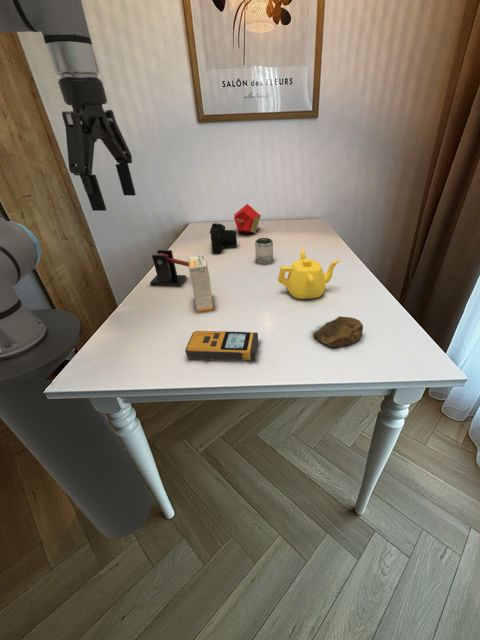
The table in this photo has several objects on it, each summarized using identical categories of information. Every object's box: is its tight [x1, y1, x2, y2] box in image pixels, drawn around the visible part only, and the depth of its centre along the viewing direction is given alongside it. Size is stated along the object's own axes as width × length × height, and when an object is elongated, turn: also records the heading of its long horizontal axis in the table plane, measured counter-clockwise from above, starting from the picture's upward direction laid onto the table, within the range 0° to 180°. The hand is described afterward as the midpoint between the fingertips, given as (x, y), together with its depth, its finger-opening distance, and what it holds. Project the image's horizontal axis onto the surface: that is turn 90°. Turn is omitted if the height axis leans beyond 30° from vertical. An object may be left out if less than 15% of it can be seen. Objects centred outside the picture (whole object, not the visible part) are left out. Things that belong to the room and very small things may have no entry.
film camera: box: [209, 222, 238, 255], centre depth 122 cm, size 15×10×9 cm, turn 1°
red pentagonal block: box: [233, 203, 262, 234], centre depth 134 cm, size 12×12×15 cm
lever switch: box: [157, 253, 189, 267], centre depth 97 cm, size 14×5×2 cm, turn 82°
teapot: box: [277, 248, 341, 300], centre depth 91 cm, size 14×13×10 cm
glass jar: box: [254, 237, 274, 265], centre depth 110 cm, size 6×6×8 cm
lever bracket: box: [149, 249, 187, 288], centre depth 99 cm, size 10×6×10 cm, turn 82°
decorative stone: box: [312, 315, 364, 349], centre depth 74 cm, size 10×9×4 cm
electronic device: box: [185, 330, 259, 362], centre depth 71 cm, size 8×16×3 cm, turn 85°
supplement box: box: [188, 254, 214, 313], centre depth 85 cm, size 8×5×13 cm, turn 11°
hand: (115, 202), depth 70 cm, fingers open, 13 cm apart
